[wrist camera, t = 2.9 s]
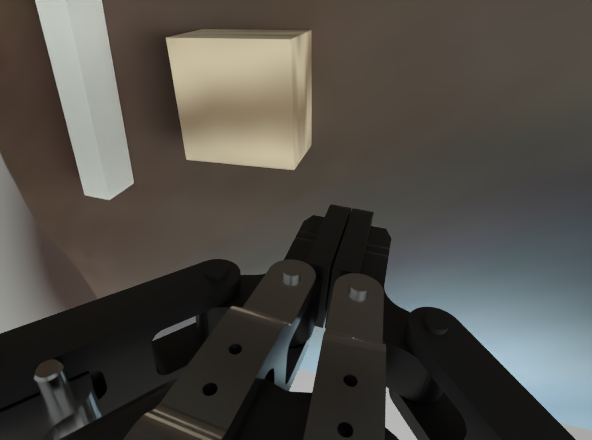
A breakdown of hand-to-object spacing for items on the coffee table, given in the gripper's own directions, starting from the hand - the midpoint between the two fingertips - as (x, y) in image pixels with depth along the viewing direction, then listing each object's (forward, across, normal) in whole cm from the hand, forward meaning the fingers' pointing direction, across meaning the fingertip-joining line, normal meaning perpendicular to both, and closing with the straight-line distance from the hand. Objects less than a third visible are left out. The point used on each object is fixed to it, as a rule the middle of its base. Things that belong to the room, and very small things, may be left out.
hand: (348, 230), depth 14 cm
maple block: (+17, +10, 0) cm, 19 cm away
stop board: (+16, +23, 0) cm, 28 cm away
